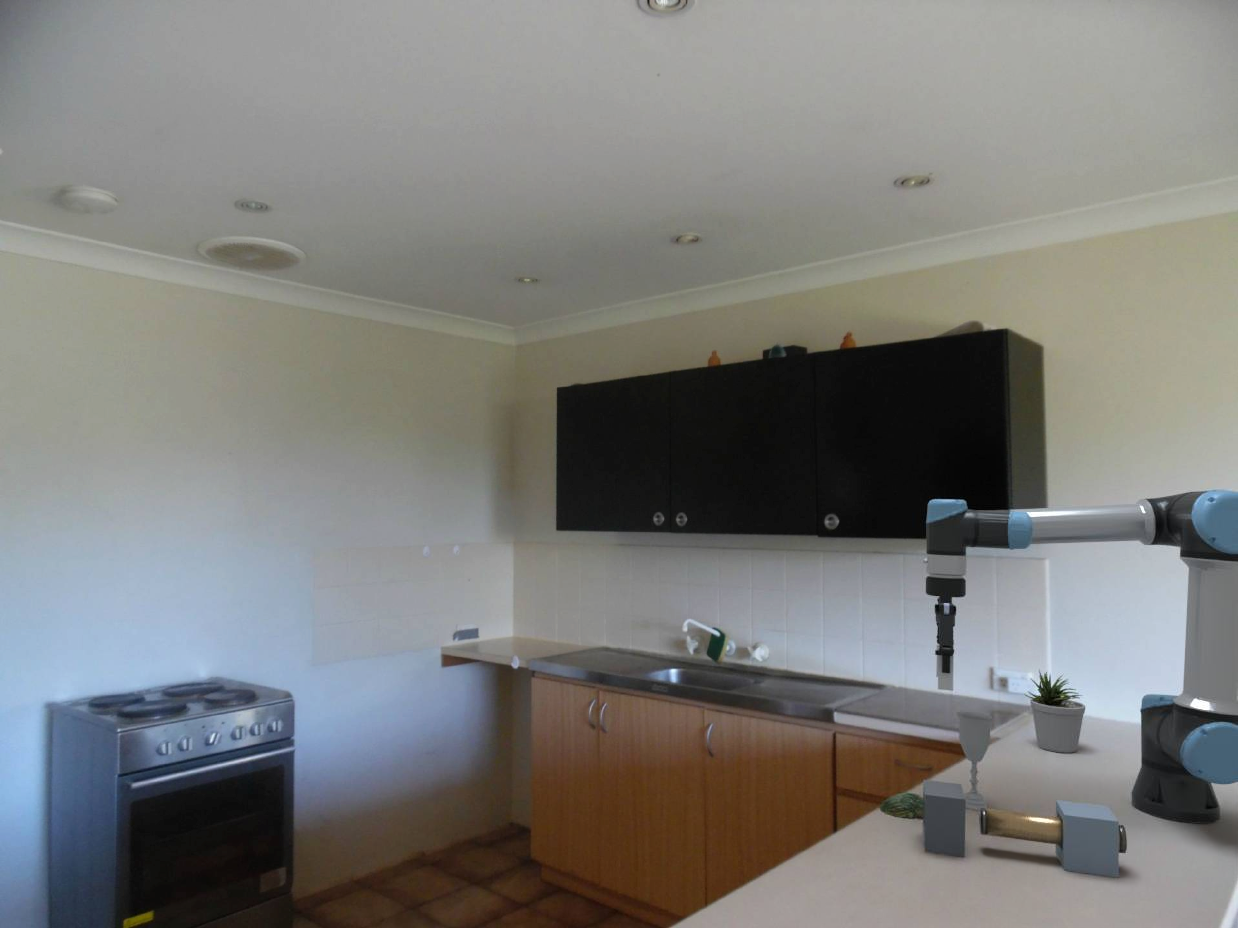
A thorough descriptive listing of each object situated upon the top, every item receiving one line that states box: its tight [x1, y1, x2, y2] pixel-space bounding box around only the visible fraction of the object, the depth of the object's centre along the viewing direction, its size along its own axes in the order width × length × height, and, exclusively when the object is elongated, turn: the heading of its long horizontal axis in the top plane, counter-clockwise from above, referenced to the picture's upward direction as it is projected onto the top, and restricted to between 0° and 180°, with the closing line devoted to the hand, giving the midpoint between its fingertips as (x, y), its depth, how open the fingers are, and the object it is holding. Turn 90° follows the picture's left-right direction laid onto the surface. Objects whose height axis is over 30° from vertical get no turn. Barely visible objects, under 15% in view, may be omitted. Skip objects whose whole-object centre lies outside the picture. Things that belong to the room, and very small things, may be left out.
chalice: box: [956, 710, 993, 811], centre depth 175 cm, size 7×7×18 cm
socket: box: [922, 779, 966, 858], centre depth 153 cm, size 6×9×10 cm
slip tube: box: [978, 807, 1128, 854], centre depth 148 cm, size 22×4×4 cm, turn 73°
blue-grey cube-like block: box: [1055, 799, 1120, 879], centre depth 147 cm, size 8×8×9 cm
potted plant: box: [1024, 669, 1086, 754], centre depth 221 cm, size 13×14×20 cm
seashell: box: [878, 792, 923, 820], centre depth 170 cm, size 10×4×10 cm
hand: (944, 683), depth 172 cm, fingers open, 13 cm apart
